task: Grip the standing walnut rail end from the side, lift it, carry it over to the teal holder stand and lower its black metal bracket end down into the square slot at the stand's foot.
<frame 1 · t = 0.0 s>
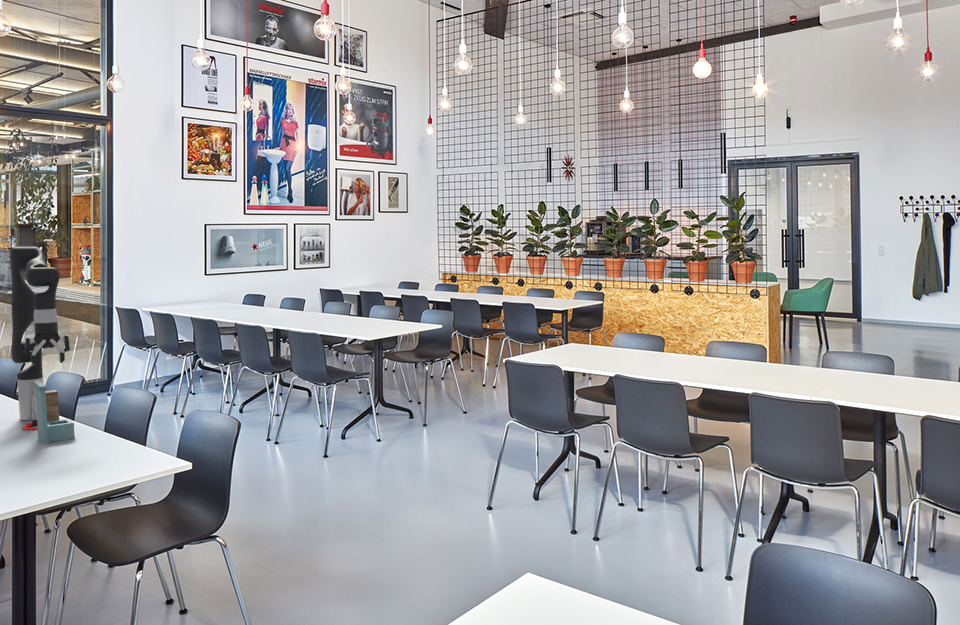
hand: (48, 363, 269), 29 cm above the table, tool pointing down, fingers open, 8 cm apart
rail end: (52, 431, 285), on the table
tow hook: (34, 428, 291), on the table
teal holder stand: (59, 438, 275), on the table
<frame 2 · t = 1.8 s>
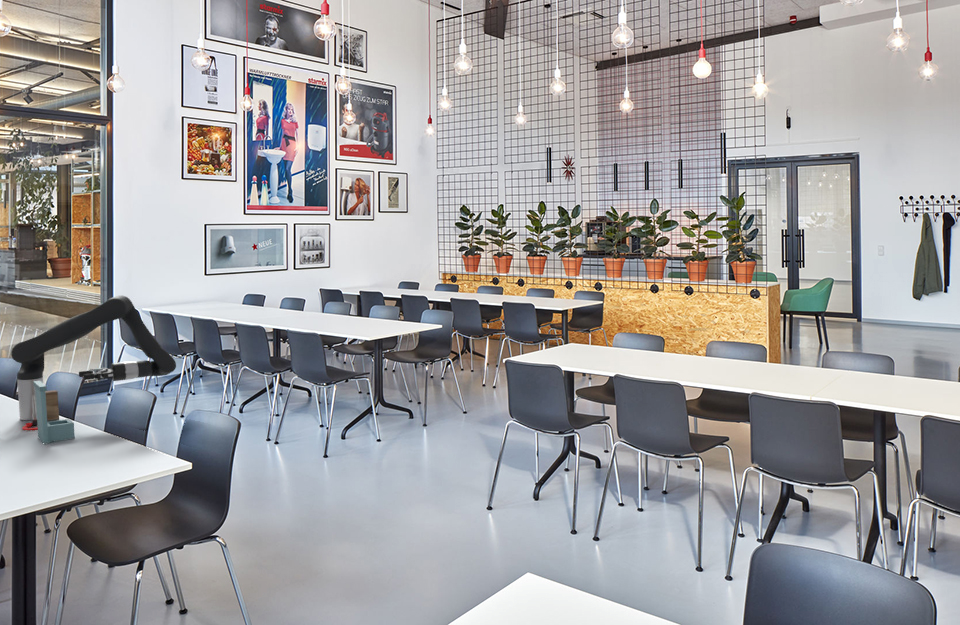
hand: (81, 375, 290), 21 cm above the table, tool horizontal, fingers open, 8 cm apart
nothing on the table moved.
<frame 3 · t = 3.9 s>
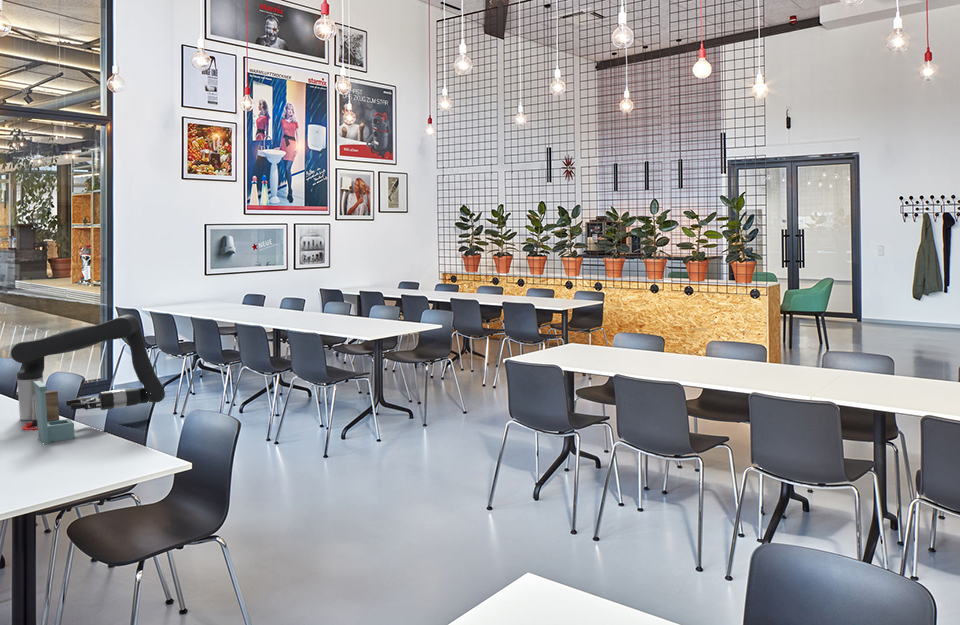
hand: (68, 405, 288), 10 cm above the table, tool horizontal, fingers open, 8 cm apart
nothing on the table moved.
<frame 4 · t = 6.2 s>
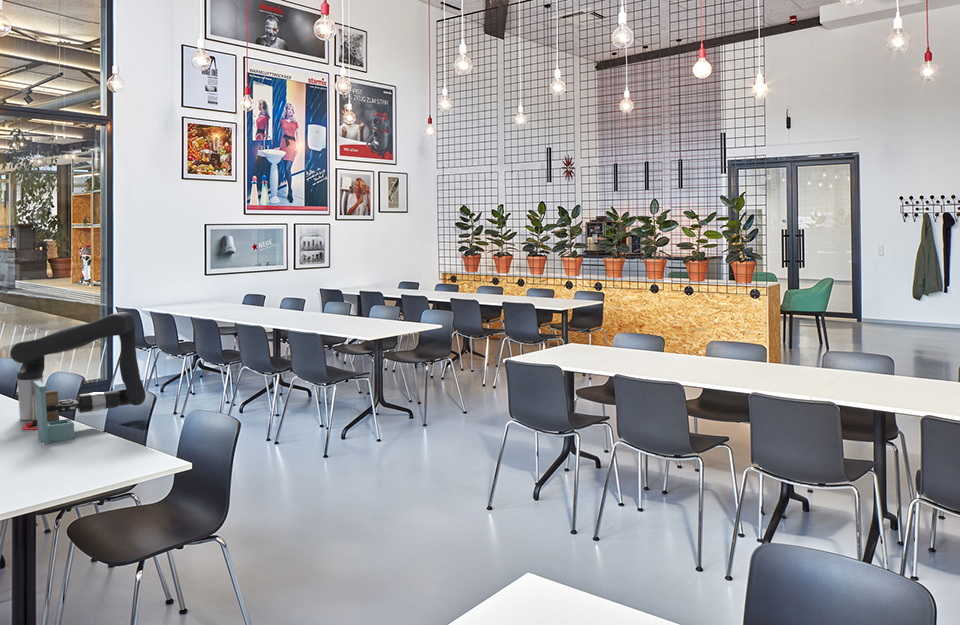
hand: (43, 408, 283), 10 cm above the table, tool horizontal, fingers closed on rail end, 3 cm apart
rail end: (52, 431, 285), on the table, touching gripper
everything else where it was.
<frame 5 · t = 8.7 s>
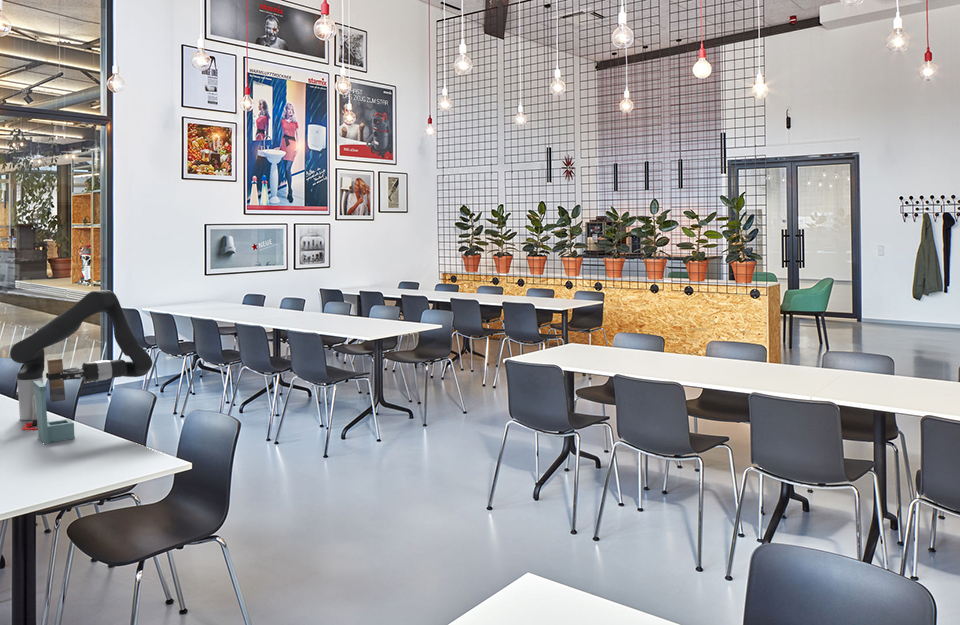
hand: (47, 376, 272), 24 cm above the table, tool horizontal, fingers closed on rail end, 3 cm apart
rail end: (57, 400, 275), point 14 cm above the table, touching gripper
everything else where it was.
when the fingers open (10 cm above the table, at t = 11.6 s): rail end stays where it is, resting in teal holder stand.
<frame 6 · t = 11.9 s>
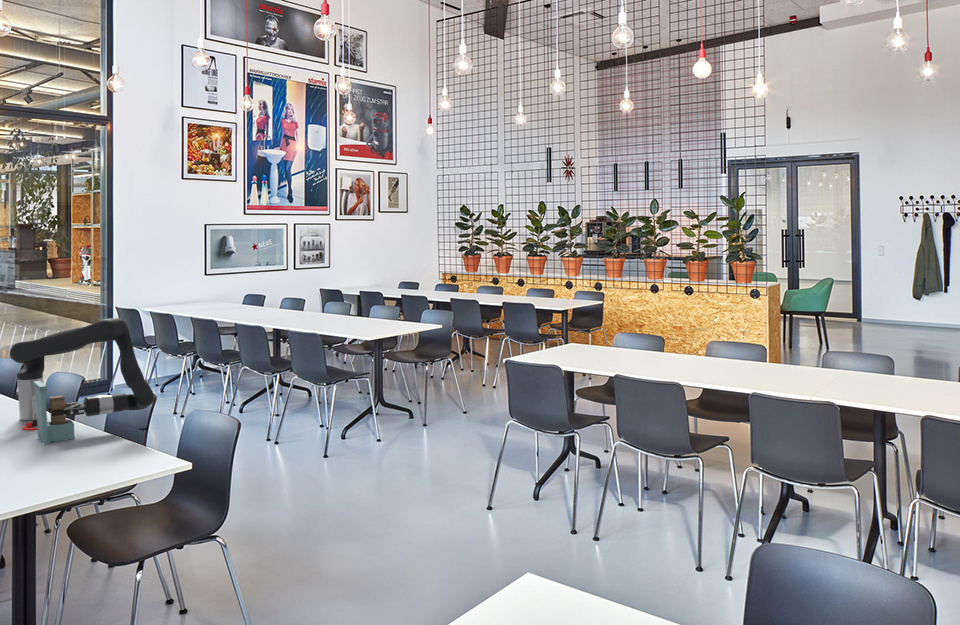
hand: (50, 411, 273), 11 cm above the table, tool horizontal, fingers open, 6 cm apart
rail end: (59, 437, 276), resting in teal holder stand
everything else where it was.
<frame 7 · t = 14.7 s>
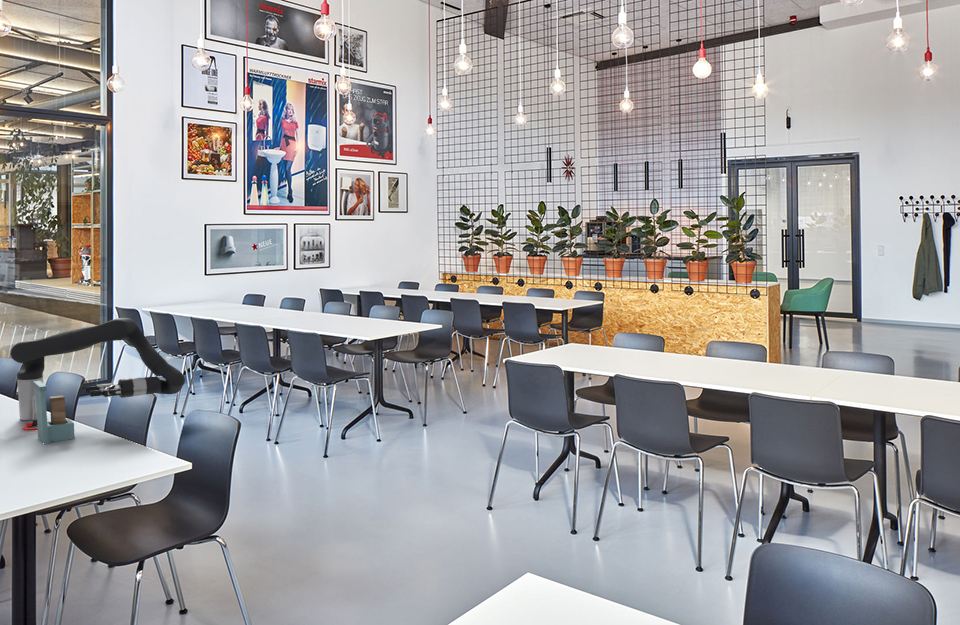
hand: (87, 391, 281), 16 cm above the table, tool horizontal, fingers open, 8 cm apart
nothing on the table moved.
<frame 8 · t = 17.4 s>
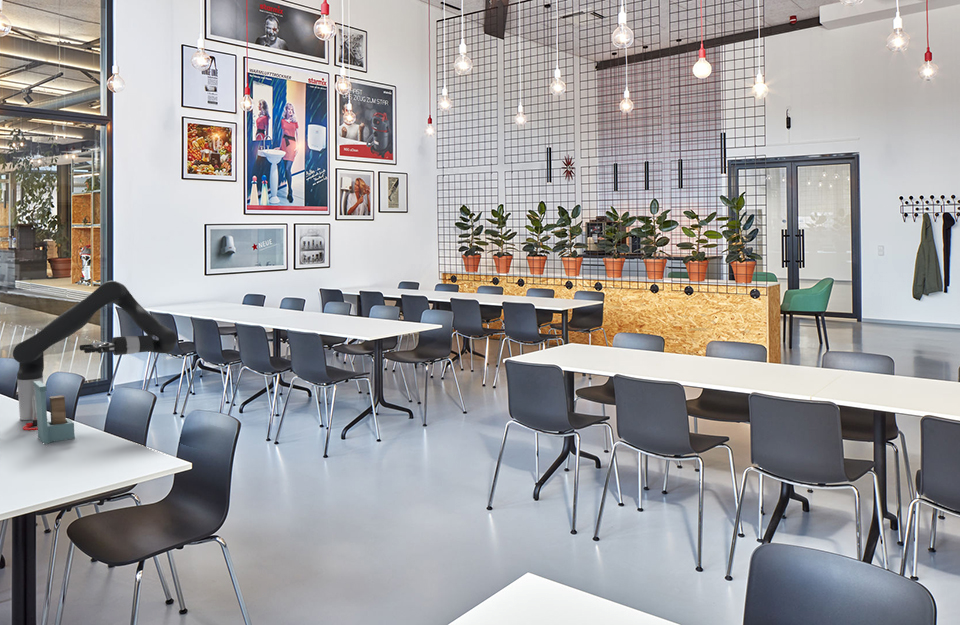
hand: (82, 349, 288), 32 cm above the table, tool horizontal, fingers open, 8 cm apart
nothing on the table moved.
at the end: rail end 0.1 cm off-centre on the teal holder stand, point 0.0 cm above the teal holder stand's base; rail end tilted 0°; the gripper is holding nothing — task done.
